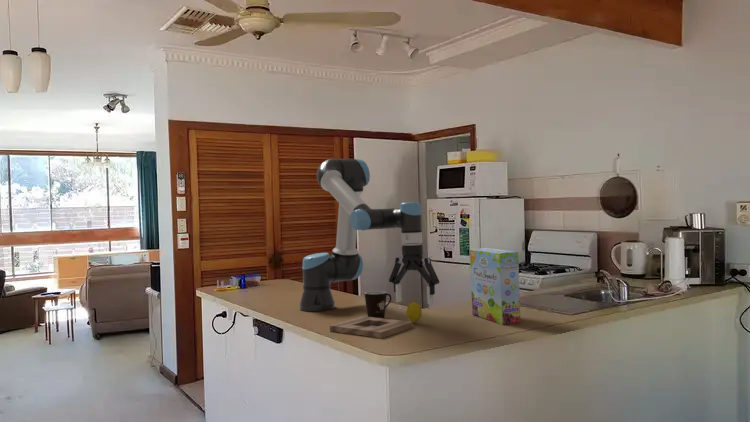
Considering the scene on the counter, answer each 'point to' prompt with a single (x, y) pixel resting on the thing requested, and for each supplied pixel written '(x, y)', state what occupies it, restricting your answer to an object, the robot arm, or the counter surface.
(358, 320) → the pocket board
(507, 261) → the snack box
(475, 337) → the counter surface
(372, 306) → the coffee mug
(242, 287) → the counter surface
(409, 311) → the lemon
